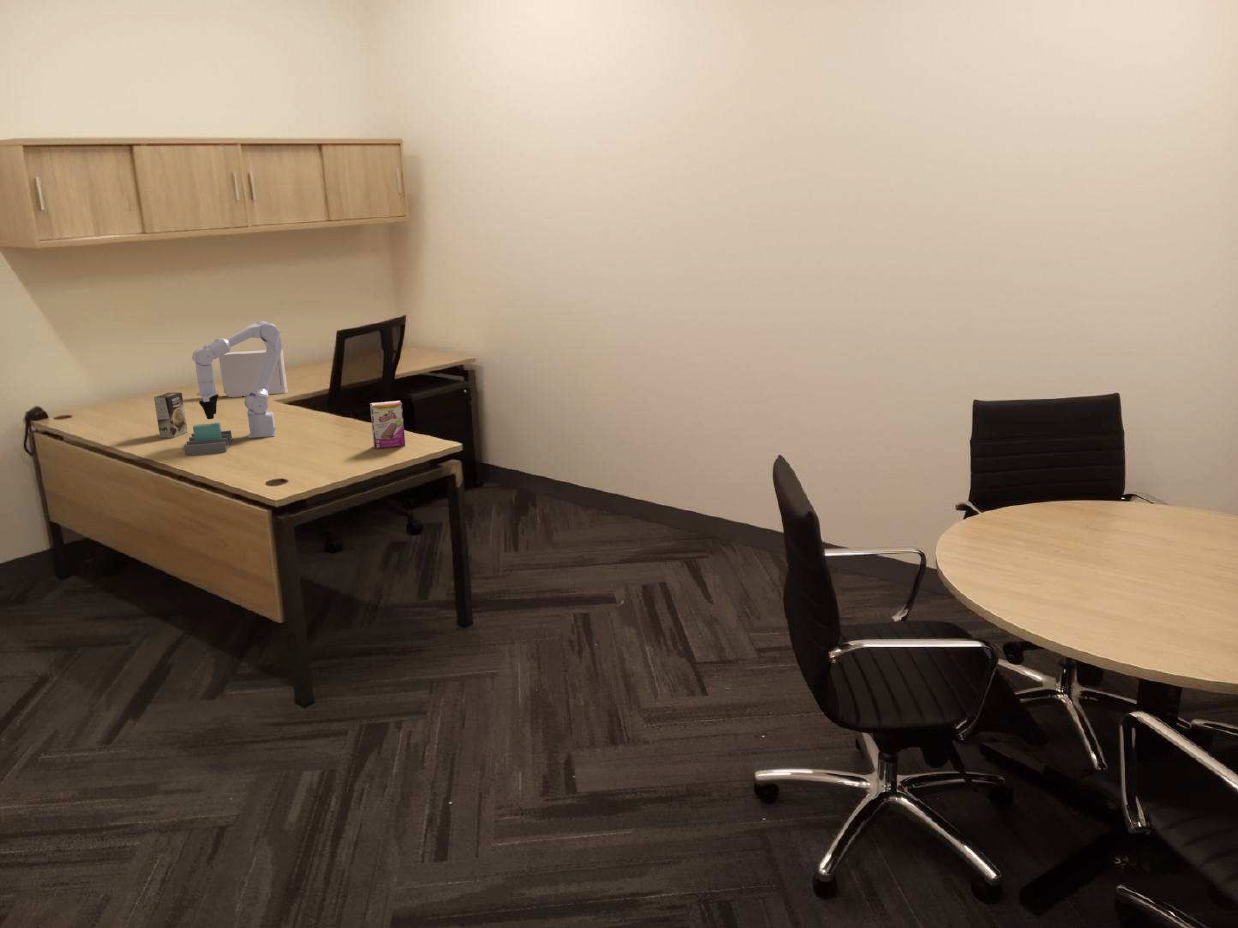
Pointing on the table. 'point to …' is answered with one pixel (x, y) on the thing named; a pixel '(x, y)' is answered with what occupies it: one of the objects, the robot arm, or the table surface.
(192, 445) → the rack
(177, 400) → the coffee box
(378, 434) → the candy bar box
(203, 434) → the tall teal block
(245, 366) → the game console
